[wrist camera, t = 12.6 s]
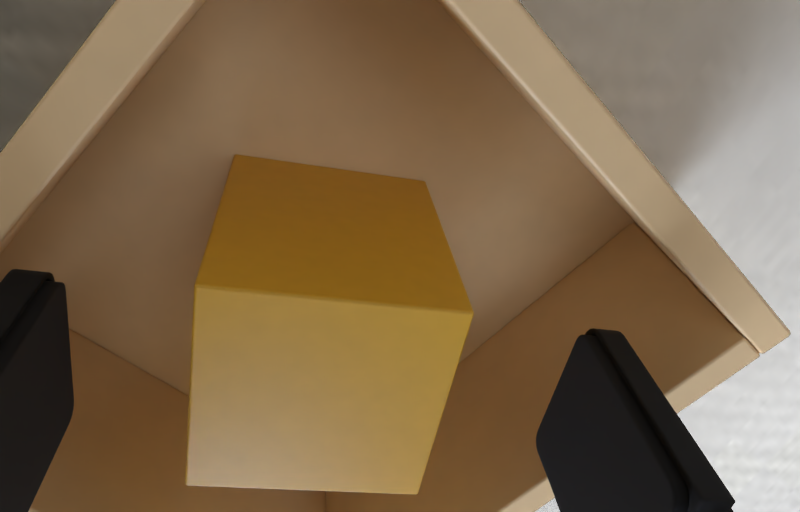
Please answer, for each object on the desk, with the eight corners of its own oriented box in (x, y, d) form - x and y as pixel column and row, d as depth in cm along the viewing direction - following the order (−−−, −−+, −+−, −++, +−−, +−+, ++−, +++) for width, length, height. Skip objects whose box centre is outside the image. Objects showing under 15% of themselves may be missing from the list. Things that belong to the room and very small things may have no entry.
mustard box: (425, 180, 15) (475, 313, 10) (390, 329, 17) (418, 495, 12) (234, 152, 14) (193, 284, 9) (222, 314, 16) (184, 486, 12)
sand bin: (312, -197, 12) (309, -255, 7) (658, 208, 17) (794, 335, 12) (-51, 266, 15) (-216, 437, 11) (325, 478, 21) (328, 655, 16)
